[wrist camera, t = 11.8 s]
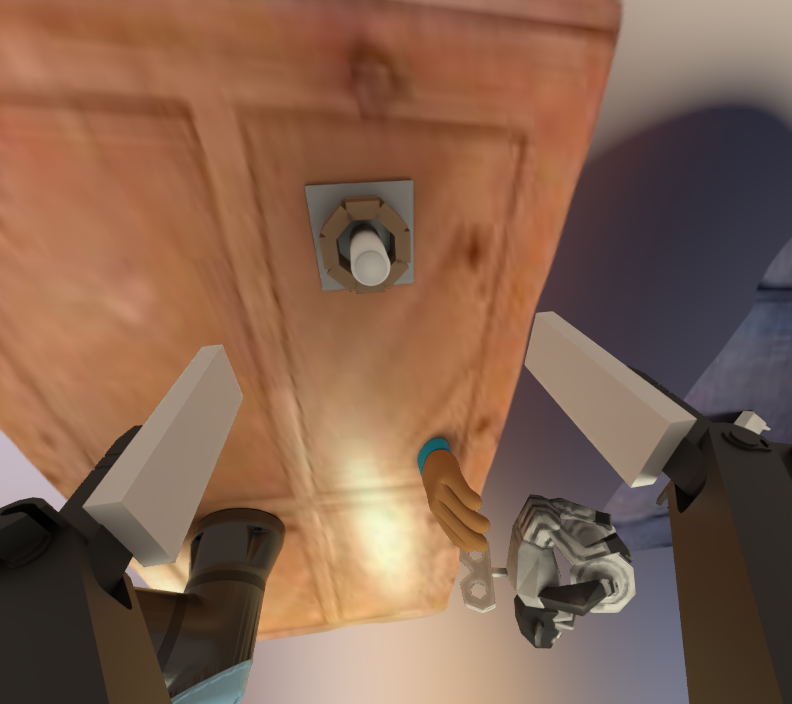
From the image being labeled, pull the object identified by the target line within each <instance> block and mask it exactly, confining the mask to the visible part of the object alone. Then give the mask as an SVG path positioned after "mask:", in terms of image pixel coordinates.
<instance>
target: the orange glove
mask: <svg viewBox="0 0 792 704" xmlns="http://www.w3.org/2000/svg"><path fill="white" fill-rule="evenodd" d="M418 465H419V469H420V473H421V476H422V480H423V484H424V487H425V490H426V494H427V498H428V503H429V507H430V510H431V512H432V513H433V515H434V516H435V518H436V519H437V521H438V523H439V524H440V526H441V527H442V529H443V530H444V532H445V533H446V535H447V536H448V537H449V538H450V540H451V541H452V542H453V543H454V544H455V545H456V546H457V547H458V548H460V549H461V550H464V551H466V552H471V551H473V550H476V551H478V552H484V551H485V550H486V549H487V546H488V542H487V540H486V538H485V537H484V536H483V535H482V534H481V533H486V532H487V531H488V530H489V527H490V522H489V520H488V519H487V518H486V517H484V516H482V515H480V514H479V513H477V512H476V511H475V510H478V509H479V508H481V505H482V499H481V497H480V496H479V495H478V494H477V493H476V492H474V491H473V490H472V489H471V488H470V487H469V486H468V484H467V482H466V481H465V479H464V477H463V475H462V474H461V471H460V468H459V464H458V461H457V459H456V458H455V457H454V455H453V454H451V452H450V449H449V446H448V443H447V442H446V440H444V439H442V438H435V439H433V440H431V441H429V442H428V443H426V444H425V445H424V446H423V448H422V449H421V451H420V453H419V455H418Z"/></svg>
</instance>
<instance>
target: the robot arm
mask: <svg viewBox="0 0 792 704" xmlns="http://www.w3.org/2000/svg"><path fill="white" fill-rule="evenodd" d="M525 366H526V367H527V368H528V369H529V370H530V372H531V373H532V374H533V375H534V376H535V378H536V379H537V380H538V381H539V382H540V383H541V384H542V386H543V387H544V388H545V389H546V390H547V391H548V393H549V394H550V395H551V396H552V397H553V398H554V399H555V400H556V402H557V403H558V404H559V405H560V406H561V408H562V409H563V410H564V411H565V412H566V413H567V415H568V416H569V417H570V418H571V419H572V420H573V422H574V423H575V424H576V425H577V426H578V427H579V429H580V430H581V431H582V432H583V433H584V434H585V435H586V437H587V438H588V439H589V440H590V441H591V442H592V443H593V445H594V446H595V447H596V448H597V449H598V451H599V452H600V453H601V454H602V455H603V456H604V457H605V459H606V460H607V461H608V462H609V463H610V464H611V466H613V468H614V469H615V470H616V471H617V473H618V474H619V475H620V476H621V477H622V478H623V479H624V481H625V482H626V483H627V484H628V485H629V486H630V488H632V487H638V486H644V485H650V484H654V482H655V481H656V479H657V478H658V476H659V475H660V473H661V472H662V471H663V472H664V473H665V474H666V475H667V476H668V477H669V478H670V479H671V480H670V482H669V483H668V484H667V486H666V487H665V489H664V490H663V491H662V493H661V494H660V496H659V497H658V498H657V502H656V504H658V505H661V504H662V503H663V502H664V500H665V499H667V498H668V507H667V508H668V509H669V514H670V524H671V533H672V543H673V552H674V561H675V570H676V581H677V590H678V600H679V610H680V619H681V628H682V638H683V648H684V657H685V666H686V676H687V686H688V695H689V704H792V444H784V443H775V442H769V441H768V440H766V439H765V438H764V437H762V436H761V435H759V434H757V433H755V432H753V431H751V430H749V429H747V428H744V427H741V426H738V425H735V424H730V423H725V422H722V423H713V422H712V421H710V420H709V419H707V418H706V417H705V416H703V415H702V414H701V413H699V412H698V411H696V410H695V409H694V408H692V407H691V406H690V405H688V404H687V403H685V402H684V401H683V400H681V399H680V398H678V397H677V396H676V395H674V394H673V393H669V390H667V389H666V388H665V387H663V386H662V385H658V382H656V381H655V380H653V379H652V378H651V377H649V376H648V375H647V374H645V373H643V372H641V371H639V370H637V369H634V368H632V367H630V366H625V365H624V364H623V363H621V362H620V361H619V360H617V359H616V358H614V357H613V356H612V355H611V354H609V353H608V352H606V351H605V350H604V349H602V348H601V347H600V346H598V345H597V344H596V343H594V342H593V341H592V340H590V339H589V338H588V337H586V336H585V335H584V334H582V333H581V332H580V331H578V330H577V329H576V328H574V327H573V326H572V325H570V324H569V323H568V322H566V321H565V320H563V319H562V318H561V317H559V316H558V315H557V314H555V313H554V312H543V313H536V317H535V321H534V325H533V330H532V334H531V338H530V343H529V347H528V352H527V356H526V360H525ZM243 398H244V397H243V394H242V392H241V389H240V387H239V384H238V382H237V379H236V377H235V374H234V372H233V369H232V367H231V364H230V362H229V359H228V357H227V354H226V352H225V349H224V347H223V344H221V345H211V346H202V347H201V349H200V350H199V351H198V353H197V354H196V355H195V357H194V358H193V359H192V361H191V362H190V363H189V365H188V366H187V367H186V369H185V370H184V371H183V373H182V374H181V375H180V377H179V378H178V379H177V381H176V382H175V383H174V385H173V386H172V387H171V389H170V390H169V391H168V393H167V394H166V395H165V397H164V398H163V399H162V401H161V402H160V403H159V405H158V406H157V407H156V409H155V410H154V411H153V413H152V414H151V416H150V417H149V418H148V420H147V421H146V422H145V424H144V425H140V426H134V427H132V428H131V429H130V430H129V431H127V432H126V433H125V434H124V435H122V436H121V437H120V438H118V439H117V440H116V441H115V443H114V444H113V445H112V446H111V448H110V449H109V450H108V451H107V453H106V454H105V457H104V458H102V459H101V460H100V461H99V463H98V464H97V465H96V466H95V470H92V471H91V473H90V474H89V475H88V476H87V478H86V479H85V480H84V481H83V483H82V484H81V485H80V486H79V488H78V489H77V490H76V491H75V493H74V494H73V495H72V496H71V497H70V499H69V500H68V501H67V502H66V504H65V505H64V506H63V507H62V509H61V510H60V511H59V512H57V511H56V510H55V509H54V508H53V507H52V506H51V505H49V504H48V503H47V502H46V501H45V500H44V499H41V498H33V497H32V498H28V499H23V500H19V501H16V502H14V503H11V504H9V505H6V506H4V507H2V508H0V704H240V702H241V701H242V699H243V696H244V693H245V689H246V685H247V680H248V676H249V672H250V667H251V665H252V663H253V652H254V647H255V642H256V636H257V630H258V625H259V619H260V613H261V608H262V602H263V596H264V591H265V586H266V581H267V578H268V576H269V574H270V572H271V570H272V568H273V566H274V564H275V562H276V560H277V558H278V555H279V553H280V551H281V549H282V547H283V543H284V537H285V527H284V525H283V524H282V522H281V521H280V520H279V519H277V518H276V517H274V516H272V515H270V514H268V513H265V512H261V511H257V510H251V509H231V510H224V511H220V512H216V513H214V514H211V515H209V516H207V517H205V518H204V519H202V520H201V521H200V522H199V523H198V525H197V527H196V529H195V532H194V534H193V537H192V540H191V546H190V563H189V578H188V582H187V585H186V588H185V590H184V593H177V592H170V591H163V590H156V589H148V588H141V587H134V586H133V584H132V581H131V578H130V577H129V576H128V575H127V573H126V572H125V570H126V568H127V566H128V564H129V562H130V561H131V559H132V557H134V558H135V559H136V560H137V561H138V562H139V563H140V564H141V565H142V566H143V567H148V566H154V565H160V564H166V563H172V562H175V561H176V558H177V556H178V554H179V551H180V549H181V547H182V544H183V542H184V539H185V537H186V535H187V532H188V530H189V527H190V525H191V523H192V520H193V518H194V515H195V513H196V511H197V508H198V506H199V503H200V501H201V499H202V496H203V494H204V491H205V489H206V487H207V484H208V482H209V479H210V477H211V475H212V472H213V470H214V467H215V465H216V463H217V460H218V458H219V456H220V453H221V451H222V448H223V446H224V444H225V441H226V439H227V436H228V434H229V432H230V429H231V427H232V424H233V422H234V420H235V417H236V415H237V412H238V410H239V408H240V405H241V403H242V400H243Z"/></svg>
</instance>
